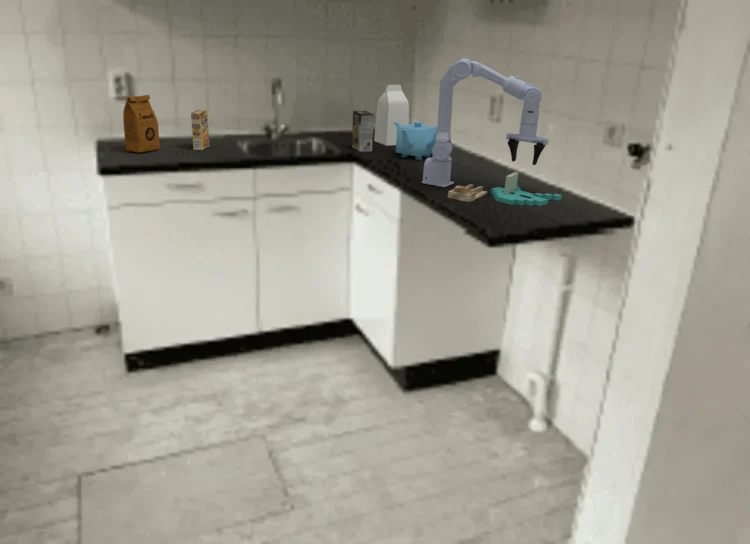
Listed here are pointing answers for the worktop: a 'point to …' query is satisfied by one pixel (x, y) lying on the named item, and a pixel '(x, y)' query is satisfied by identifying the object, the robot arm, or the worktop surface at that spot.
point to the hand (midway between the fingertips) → (524, 162)
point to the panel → (511, 183)
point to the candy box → (200, 129)
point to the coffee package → (140, 125)
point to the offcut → (461, 189)
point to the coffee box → (362, 130)
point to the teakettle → (415, 139)
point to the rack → (465, 197)
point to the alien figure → (522, 197)
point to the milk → (391, 114)
